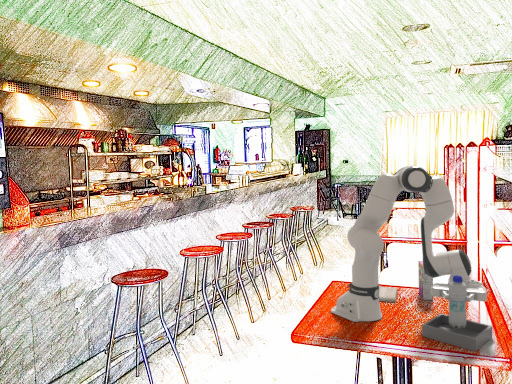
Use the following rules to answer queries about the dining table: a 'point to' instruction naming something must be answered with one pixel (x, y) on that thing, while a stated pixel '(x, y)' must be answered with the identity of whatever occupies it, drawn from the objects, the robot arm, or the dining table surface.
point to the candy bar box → (424, 283)
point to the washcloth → (387, 294)
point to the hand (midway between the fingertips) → (457, 298)
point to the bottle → (457, 302)
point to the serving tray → (457, 332)
